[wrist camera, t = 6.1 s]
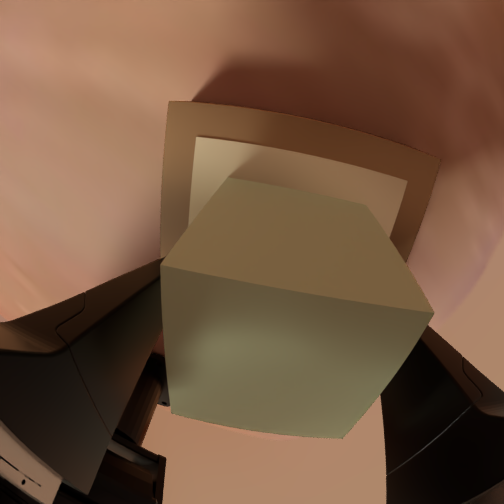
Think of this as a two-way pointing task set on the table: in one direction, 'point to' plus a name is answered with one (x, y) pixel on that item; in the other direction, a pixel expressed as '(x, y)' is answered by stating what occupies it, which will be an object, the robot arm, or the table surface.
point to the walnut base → (288, 166)
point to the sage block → (285, 312)
